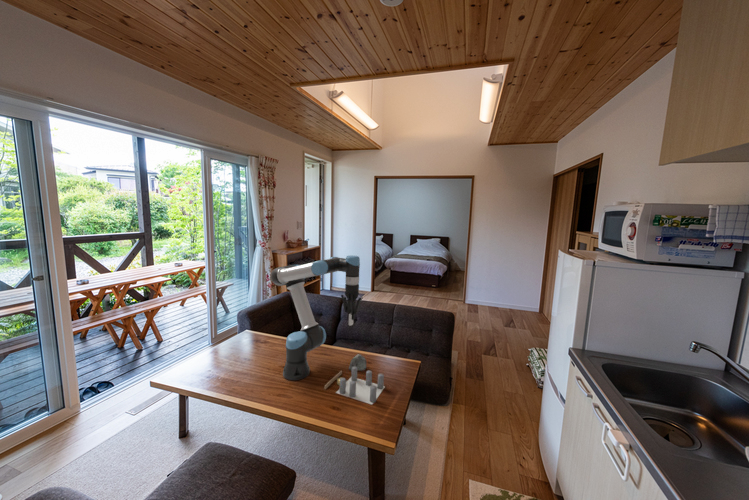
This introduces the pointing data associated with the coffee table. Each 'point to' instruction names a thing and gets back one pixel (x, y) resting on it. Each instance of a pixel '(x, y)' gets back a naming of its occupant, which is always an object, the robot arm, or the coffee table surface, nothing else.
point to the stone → (358, 362)
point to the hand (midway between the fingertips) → (350, 324)
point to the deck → (359, 386)
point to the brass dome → (339, 381)
